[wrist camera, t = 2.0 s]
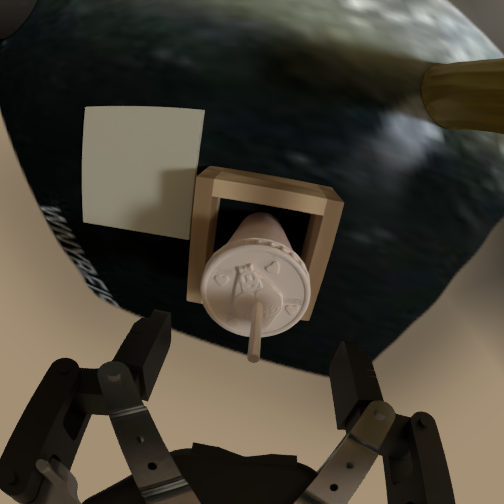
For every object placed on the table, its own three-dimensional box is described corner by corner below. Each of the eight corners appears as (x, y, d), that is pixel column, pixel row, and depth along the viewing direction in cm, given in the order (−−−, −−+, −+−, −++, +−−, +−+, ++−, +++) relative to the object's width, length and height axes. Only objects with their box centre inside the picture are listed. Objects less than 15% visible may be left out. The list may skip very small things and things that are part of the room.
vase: (469, 137, 20) (587, 174, 7) (417, 119, 20) (543, 140, 7) (473, 77, 17) (590, 79, 4) (421, 55, 17) (539, 27, 4)
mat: (86, 219, 26) (83, 222, 25) (88, 106, 21) (85, 107, 20) (190, 237, 26) (188, 239, 25) (205, 110, 21) (203, 110, 21)
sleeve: (198, 273, 27) (186, 300, 23) (209, 165, 23) (196, 176, 19) (304, 291, 28) (309, 320, 23) (331, 187, 23) (344, 202, 19)
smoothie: (236, 273, 27) (210, 398, 15) (213, 208, 25) (155, 306, 12) (305, 256, 26) (330, 380, 13) (287, 187, 23) (307, 272, 11)
